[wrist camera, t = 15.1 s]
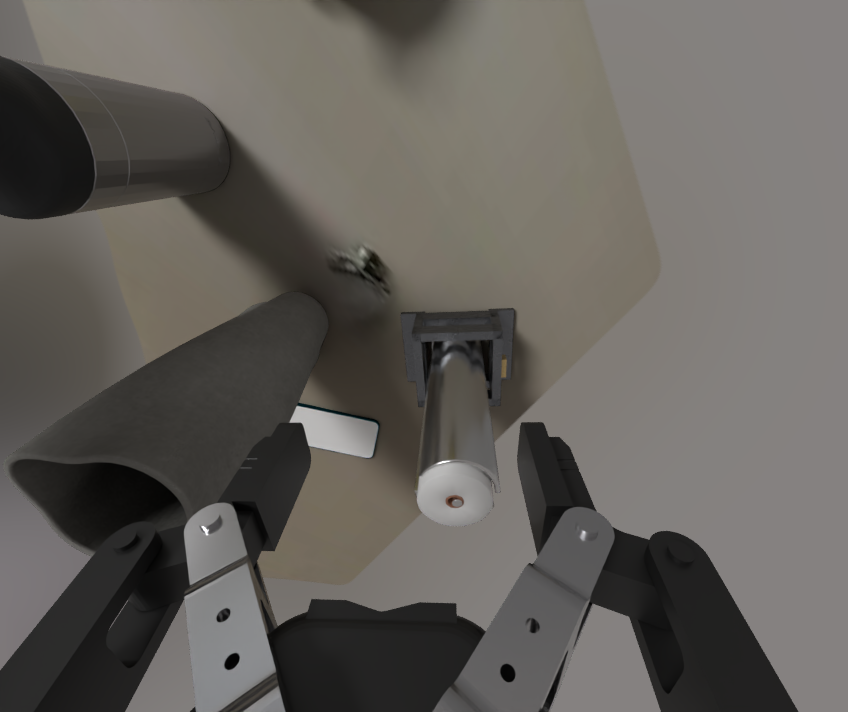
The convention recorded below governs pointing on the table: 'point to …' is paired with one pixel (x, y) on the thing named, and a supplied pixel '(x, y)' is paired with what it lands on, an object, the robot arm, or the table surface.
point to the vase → (172, 426)
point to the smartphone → (337, 430)
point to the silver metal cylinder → (456, 438)
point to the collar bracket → (459, 328)
